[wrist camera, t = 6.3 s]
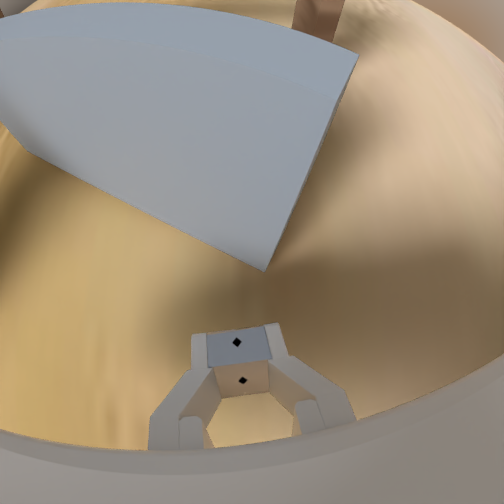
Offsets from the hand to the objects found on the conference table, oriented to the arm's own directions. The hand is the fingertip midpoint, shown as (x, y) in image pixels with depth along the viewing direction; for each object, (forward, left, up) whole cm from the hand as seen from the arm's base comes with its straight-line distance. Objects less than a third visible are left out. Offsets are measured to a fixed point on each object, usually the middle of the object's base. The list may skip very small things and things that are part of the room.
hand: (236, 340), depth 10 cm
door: (+10, +6, -4) cm, 12 cm away
